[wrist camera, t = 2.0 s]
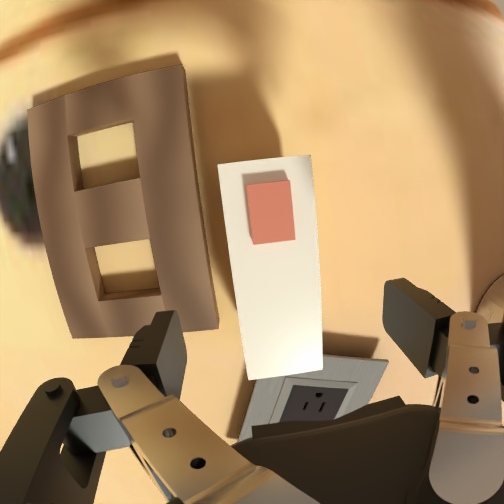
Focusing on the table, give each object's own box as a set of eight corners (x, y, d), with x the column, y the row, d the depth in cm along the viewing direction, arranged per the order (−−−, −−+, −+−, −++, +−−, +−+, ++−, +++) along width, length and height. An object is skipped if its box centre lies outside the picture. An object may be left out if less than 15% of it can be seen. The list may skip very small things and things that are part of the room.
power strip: (288, 157, 21) (313, 154, 14) (302, 320, 24) (324, 374, 17) (223, 164, 21) (216, 164, 14) (245, 328, 24) (248, 385, 17)
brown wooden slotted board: (185, 70, 19) (181, 64, 18) (219, 319, 24) (218, 328, 22) (37, 111, 19) (27, 109, 17) (79, 329, 24) (72, 338, 22)
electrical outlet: (263, 334, 25) (266, 351, 22) (379, 348, 26) (390, 363, 24) (233, 441, 28) (233, 459, 26) (330, 447, 29) (335, 463, 27)
